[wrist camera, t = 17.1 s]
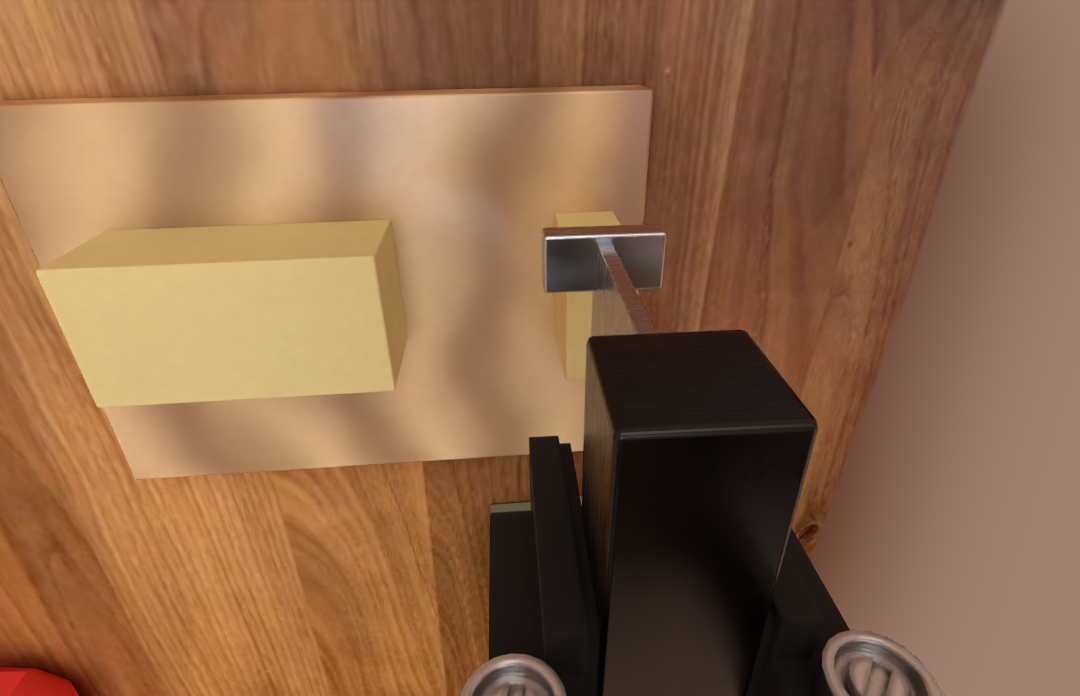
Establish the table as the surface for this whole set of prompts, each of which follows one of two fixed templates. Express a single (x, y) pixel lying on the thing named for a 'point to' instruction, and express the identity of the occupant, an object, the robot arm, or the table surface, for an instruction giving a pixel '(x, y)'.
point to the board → (353, 195)
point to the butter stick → (231, 311)
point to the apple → (33, 683)
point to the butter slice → (576, 304)
